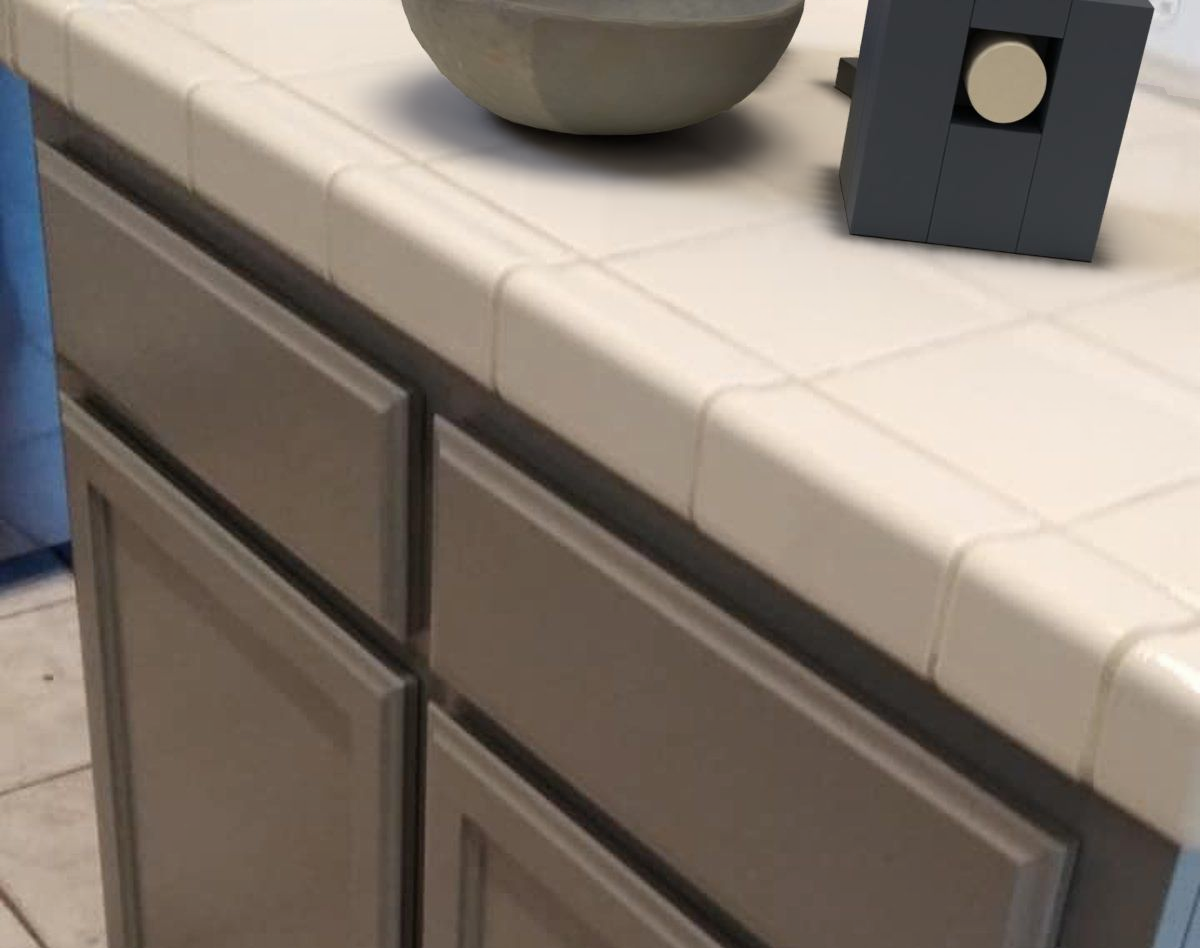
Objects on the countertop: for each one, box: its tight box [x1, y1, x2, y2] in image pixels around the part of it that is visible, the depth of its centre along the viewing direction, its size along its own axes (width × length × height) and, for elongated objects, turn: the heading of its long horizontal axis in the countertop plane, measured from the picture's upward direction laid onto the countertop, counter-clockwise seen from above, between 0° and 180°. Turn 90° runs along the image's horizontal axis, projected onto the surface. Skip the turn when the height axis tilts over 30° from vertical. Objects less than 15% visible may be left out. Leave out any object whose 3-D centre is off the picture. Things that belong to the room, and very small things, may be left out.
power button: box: [960, 29, 1046, 123], centre depth 96 cm, size 4×4×4 cm
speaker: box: [838, 0, 1156, 262], centre depth 100 cm, size 10×12×13 cm
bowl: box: [400, 0, 806, 136], centre depth 108 cm, size 21×21×8 cm
